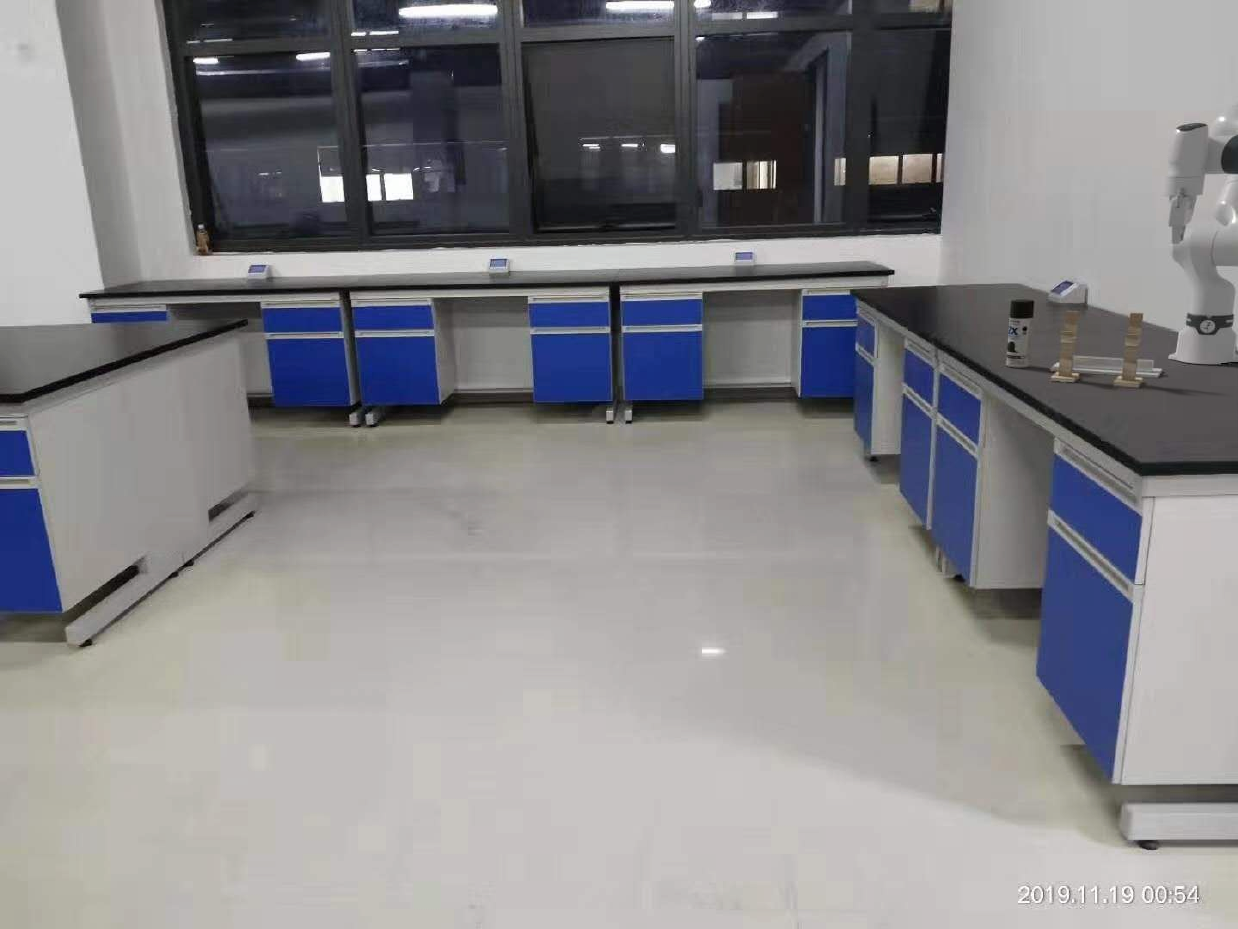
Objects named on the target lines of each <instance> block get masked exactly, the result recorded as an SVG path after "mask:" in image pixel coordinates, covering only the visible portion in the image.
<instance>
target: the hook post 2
mask: <svg viewBox="0 0 1238 929" xmlns="http://www.w3.org/2000/svg"><path fill="white" fill-rule="evenodd" d="M1143 318H1144V312H1130V313H1129V324H1128V332H1127V333H1126V334H1125V335H1124V336H1125V338H1124V354H1123V358H1124V362H1123V371H1122V376H1119V375H1117V377H1116V378H1115V379H1114V381H1113V386H1114V387H1124V388H1139V387H1140V386H1141V384H1142V383H1143V379H1144V377H1136V369H1137V360H1138V359H1139V349H1140V343H1141V338H1142V328H1143V321H1144V319H1143Z"/></svg>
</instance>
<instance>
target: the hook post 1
mask: <svg viewBox="0 0 1238 929" xmlns="http://www.w3.org/2000/svg"><path fill="white" fill-rule="evenodd" d="M1079 312H1080V311H1079V310H1066V312H1065V322H1064V330H1061V332H1060V340H1059V342H1060V354H1059V372H1058V371H1055V373H1054V374H1053V375H1052V376H1050V382H1052V381H1060V382H1059V383H1066V382H1074V381H1075V380H1076V381H1077V380H1078V379H1079V378H1080V373H1074V372H1072V369H1073V358H1074V356H1075V344H1076V340H1077V334H1078V324H1079ZM1076 381H1075V382H1076ZM1075 382H1074V383H1075Z"/></svg>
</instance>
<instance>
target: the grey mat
mask: <svg viewBox="0 0 1238 929" xmlns="http://www.w3.org/2000/svg"><path fill="white" fill-rule="evenodd" d="M1059 363H1060V361H1059V362H1056V363H1055V364H1054V365H1052V366H1051V367H1050V368H1049V371H1050V372H1059ZM1162 372H1163V368H1157V367H1156V368H1154V367H1153V371H1152V372H1138V371H1136V377H1140V378H1151V379H1152V378H1153V379H1158V378H1159V377H1160V375H1161V373H1162ZM1072 373H1079V374H1090V375H1093V374H1094V375H1104V374H1106V375H1107V376H1122V370H1106V369H1090V368H1074V367H1073V369H1072Z"/></svg>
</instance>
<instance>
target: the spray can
mask: <svg viewBox="0 0 1238 929" xmlns="http://www.w3.org/2000/svg"><path fill="white" fill-rule="evenodd" d="M1009 309H1010V310H1009V319H1008V320H1009V321H1008V336H1007V346H1006V347H1007V348H1006V361H1005V365H1007V366H1008V367H1007V366H1006V367H1007V368H1011V367H1013V368H1012V369H1026V368H1029V367H1030V363H1031V362H1030V361H1031V352H1032V351H1031V349H1032V338H1033V326H1034V325H1033V324H1034V313H1035V312H1034V311H1035V300H1034V299H1026V298H1025V299H1022V298H1021V299H1012V300H1011V301H1010V308H1009Z"/></svg>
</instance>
